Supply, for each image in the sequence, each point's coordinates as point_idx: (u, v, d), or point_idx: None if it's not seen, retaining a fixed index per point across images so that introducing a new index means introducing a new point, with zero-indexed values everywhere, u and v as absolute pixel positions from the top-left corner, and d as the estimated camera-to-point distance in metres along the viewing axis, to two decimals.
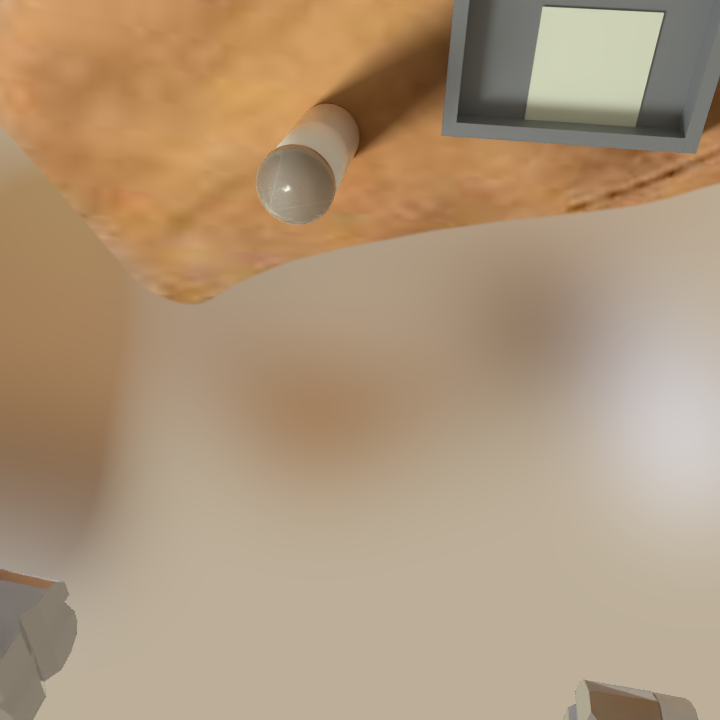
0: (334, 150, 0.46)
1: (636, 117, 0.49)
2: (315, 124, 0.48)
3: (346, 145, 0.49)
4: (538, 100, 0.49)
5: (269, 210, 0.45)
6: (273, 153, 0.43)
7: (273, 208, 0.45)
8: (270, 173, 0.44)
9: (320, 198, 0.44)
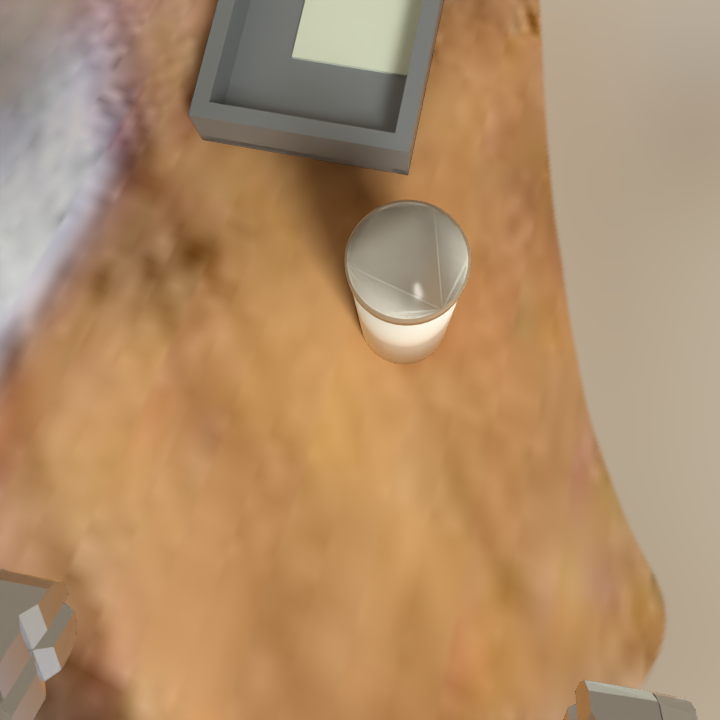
0: None
1: None
2: None
3: None
4: (390, 60, 0.41)
5: (440, 308, 0.27)
6: (349, 280, 0.28)
7: (438, 301, 0.27)
8: (380, 292, 0.28)
9: (429, 223, 0.28)
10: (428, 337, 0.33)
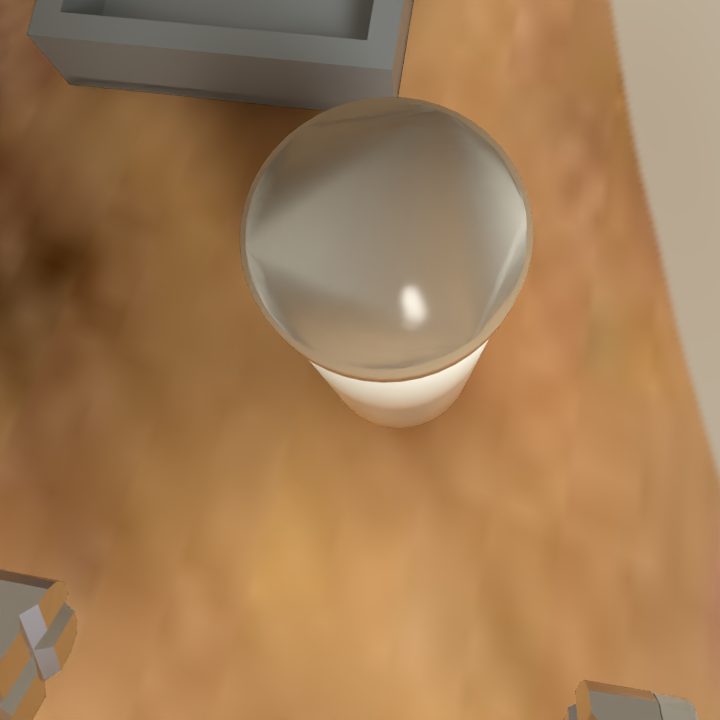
0: None
1: None
2: None
3: None
4: None
5: (468, 340, 0.12)
6: (253, 286, 0.12)
7: (462, 323, 0.12)
8: (325, 310, 0.12)
9: (431, 145, 0.12)
10: (442, 392, 0.17)
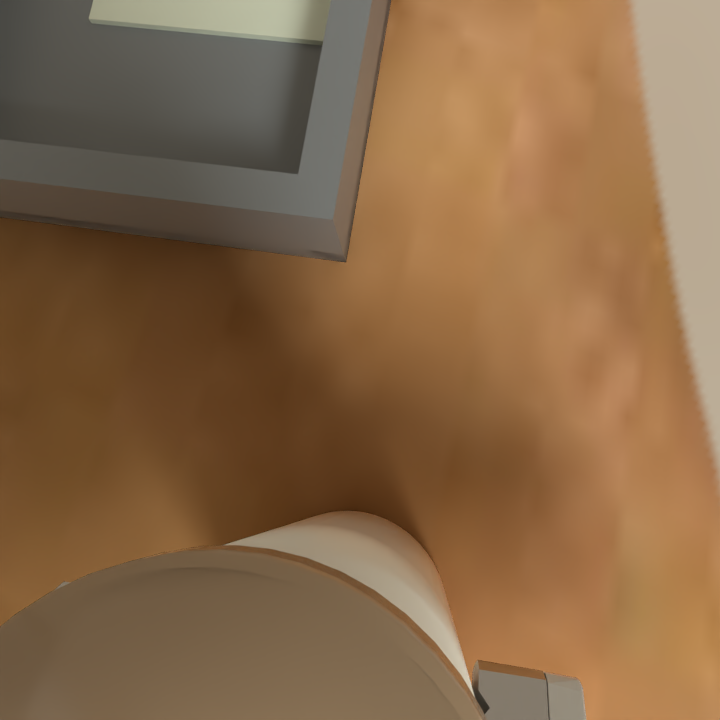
0: None
1: None
2: None
3: (286, 525, 0.12)
4: (298, 13, 0.19)
5: None
6: None
7: None
8: None
9: (304, 687, 0.05)
10: None
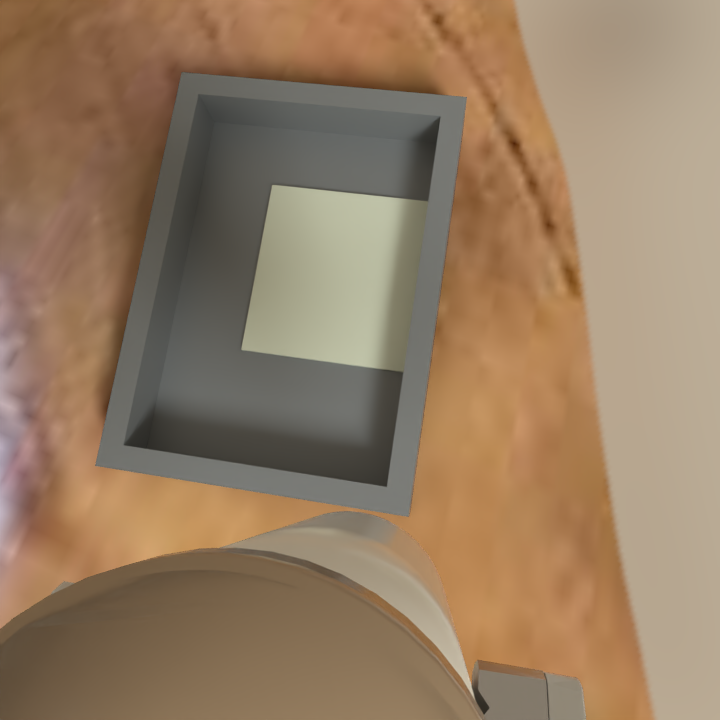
0: None
1: (416, 202, 0.31)
2: None
3: (286, 526, 0.12)
4: (377, 350, 0.30)
5: None
6: None
7: None
8: None
9: (304, 691, 0.05)
10: None
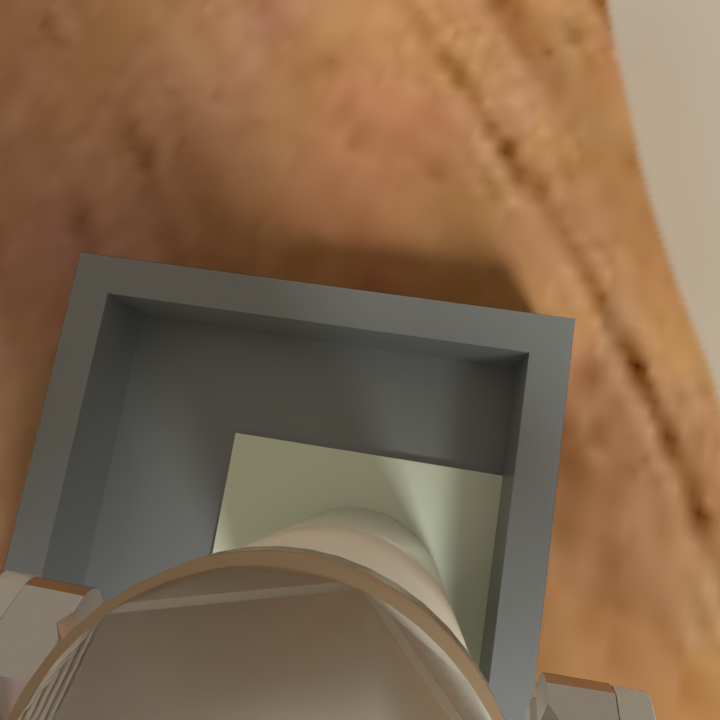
0: None
1: (478, 474, 0.18)
2: None
3: (300, 523, 0.13)
4: None
5: None
6: None
7: None
8: None
9: (345, 663, 0.06)
10: None
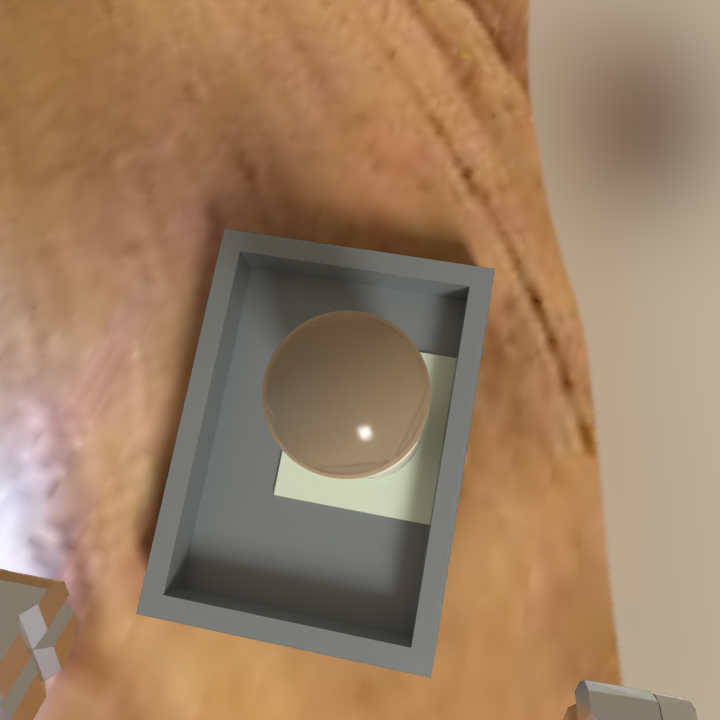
0: None
1: (442, 357, 0.33)
2: None
3: None
4: (402, 502, 0.32)
5: (391, 459, 0.20)
6: (269, 422, 0.21)
7: (388, 449, 0.20)
8: (310, 439, 0.21)
9: (374, 341, 0.21)
10: (389, 470, 0.25)
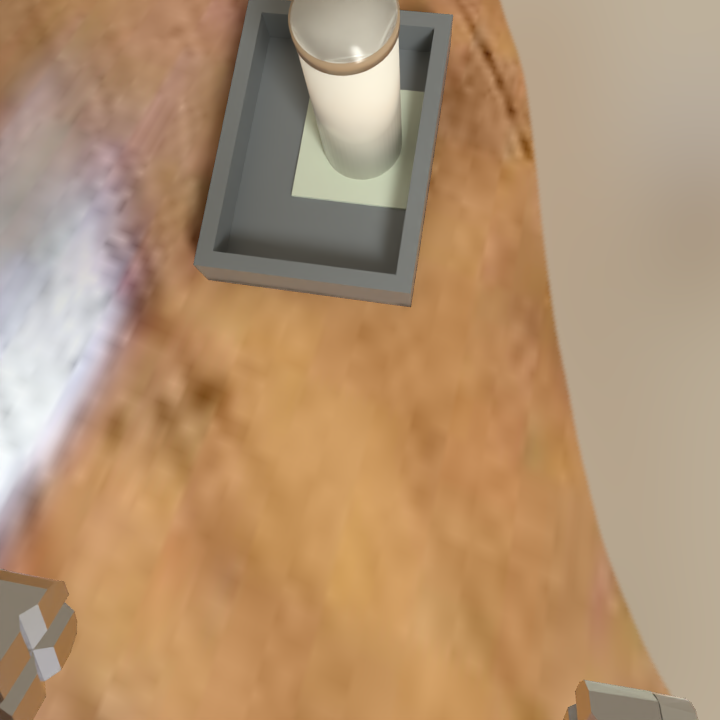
0: None
1: (416, 92, 0.43)
2: None
3: None
4: (388, 194, 0.42)
5: (374, 52, 0.31)
6: (293, 35, 0.31)
7: (372, 46, 0.31)
8: (320, 43, 0.31)
9: None
10: (375, 116, 0.36)
